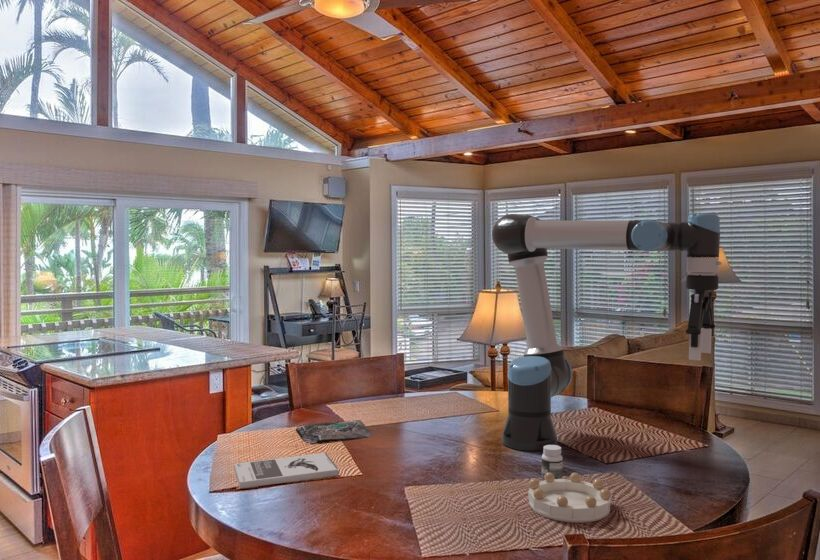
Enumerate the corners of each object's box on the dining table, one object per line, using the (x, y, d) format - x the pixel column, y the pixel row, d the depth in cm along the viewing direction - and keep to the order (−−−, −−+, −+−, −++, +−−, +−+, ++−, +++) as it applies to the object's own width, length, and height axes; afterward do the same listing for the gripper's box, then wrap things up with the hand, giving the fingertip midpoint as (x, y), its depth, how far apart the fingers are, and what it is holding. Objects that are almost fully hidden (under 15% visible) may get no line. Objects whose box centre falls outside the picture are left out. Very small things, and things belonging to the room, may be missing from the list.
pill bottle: (538, 479, 148) (538, 444, 147) (558, 479, 148) (558, 443, 148) (545, 487, 143) (545, 450, 143) (565, 486, 143) (565, 449, 143)
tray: (519, 514, 128) (519, 491, 128) (538, 486, 143) (538, 466, 143) (605, 529, 121) (605, 504, 121) (615, 497, 136) (615, 476, 136)
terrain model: (306, 447, 176) (305, 436, 176) (295, 433, 190) (295, 422, 190) (375, 439, 183) (375, 428, 183) (360, 426, 197) (360, 416, 197)
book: (239, 491, 144) (239, 482, 144) (234, 471, 157) (234, 463, 156) (338, 477, 152) (338, 469, 152) (325, 460, 165) (325, 452, 165)
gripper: (709, 276, 150) (706, 365, 151) (726, 273, 170) (724, 351, 172) (675, 275, 154) (673, 361, 155) (696, 272, 175) (694, 348, 176)
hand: (700, 356), depth 163 cm, fingers open, 13 cm apart
